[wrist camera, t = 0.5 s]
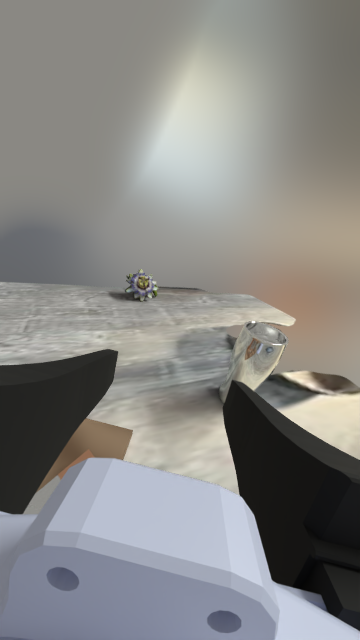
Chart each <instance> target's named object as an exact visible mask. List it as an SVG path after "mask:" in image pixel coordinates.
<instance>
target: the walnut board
mask: <svg viewBox="0 0 360 640" xmlns="http://www.w3.org/2000/svg"><path fill="white" fill-rule="evenodd" d="M132 432H133V430H129V429H126V428H122V427H118V426H114V425H110V424H106V423H102V422H98V421H94V420H90V419H85V420H84V421H83V422H82V423H81V425H80V426H79V427H78V429H77V430H76V431H75V433H74V434H73V435H72V437H71V438H70V440H69V441H68V443H67V444H66V446H65V447H64V449H63V450H62V452H61V453H60V455H59V457H58V458H57V460H56V461H55V463H54V464H53V466H52V467H51V469H50V471H49V472H48V474H47V475H46V477H45V479H44V480H43V482H42V483H41V485H40V487H39V488H38V490H37V492H38V491H39V490H40V489H41V488H43V487H44V486H45V485H46V484H47V483H49V482H50V481H51V480H52V479H53V478H55V477H56V476H57V475H58V474H59V473H60V472H61V471H63V470H64V469H65V468H66V467H67V466H69V465H70V464H71V463H72V462H74V461H75V460H76V459H77V458H78V457H80V456H81V455H82V454H83V453H84V452H86V451H87V450H88V449H89V450H90V451H91V453H92V454H93V456H94V457H95V458H116V459H120V460H123V458H124V456H125V453H126V450H127V447H128V445H129V442H130V439H131V436H132Z"/></svg>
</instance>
